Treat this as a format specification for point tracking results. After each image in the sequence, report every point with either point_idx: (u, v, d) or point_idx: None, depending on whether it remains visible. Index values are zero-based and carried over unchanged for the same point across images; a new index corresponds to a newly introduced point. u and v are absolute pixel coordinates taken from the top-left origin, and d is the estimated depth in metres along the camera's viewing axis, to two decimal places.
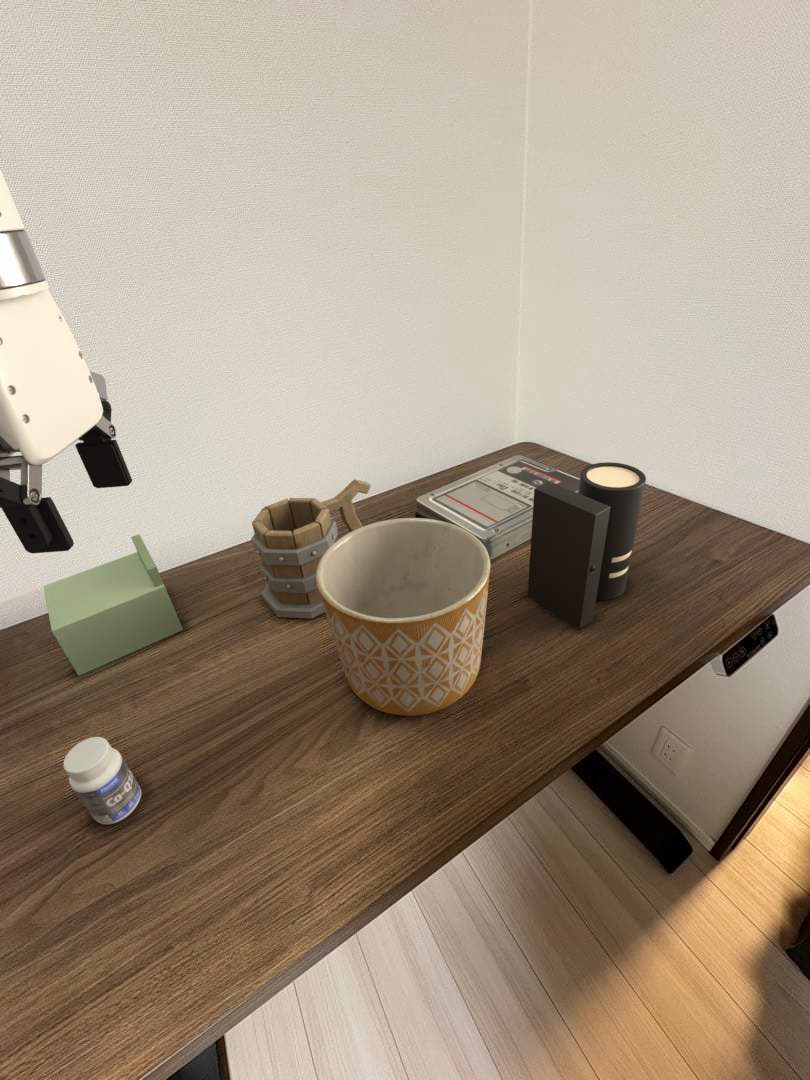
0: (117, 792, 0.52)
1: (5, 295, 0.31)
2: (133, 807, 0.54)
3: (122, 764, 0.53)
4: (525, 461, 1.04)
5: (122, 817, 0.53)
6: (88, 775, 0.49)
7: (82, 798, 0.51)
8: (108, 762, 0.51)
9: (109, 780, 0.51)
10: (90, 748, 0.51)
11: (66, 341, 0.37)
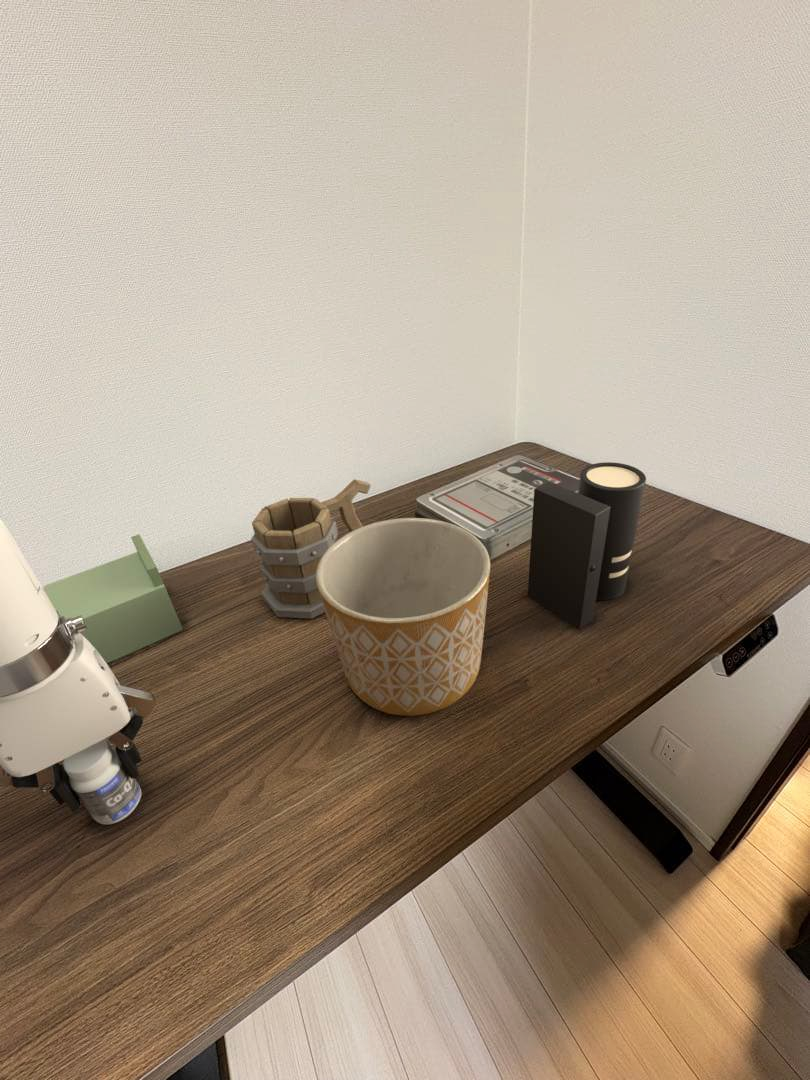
0: (117, 792, 0.52)
1: None
2: (133, 807, 0.54)
3: None
4: (525, 461, 1.04)
5: (122, 817, 0.53)
6: (88, 776, 0.49)
7: (82, 798, 0.51)
8: (108, 762, 0.51)
9: (109, 781, 0.51)
10: (90, 748, 0.51)
11: (84, 694, 0.45)
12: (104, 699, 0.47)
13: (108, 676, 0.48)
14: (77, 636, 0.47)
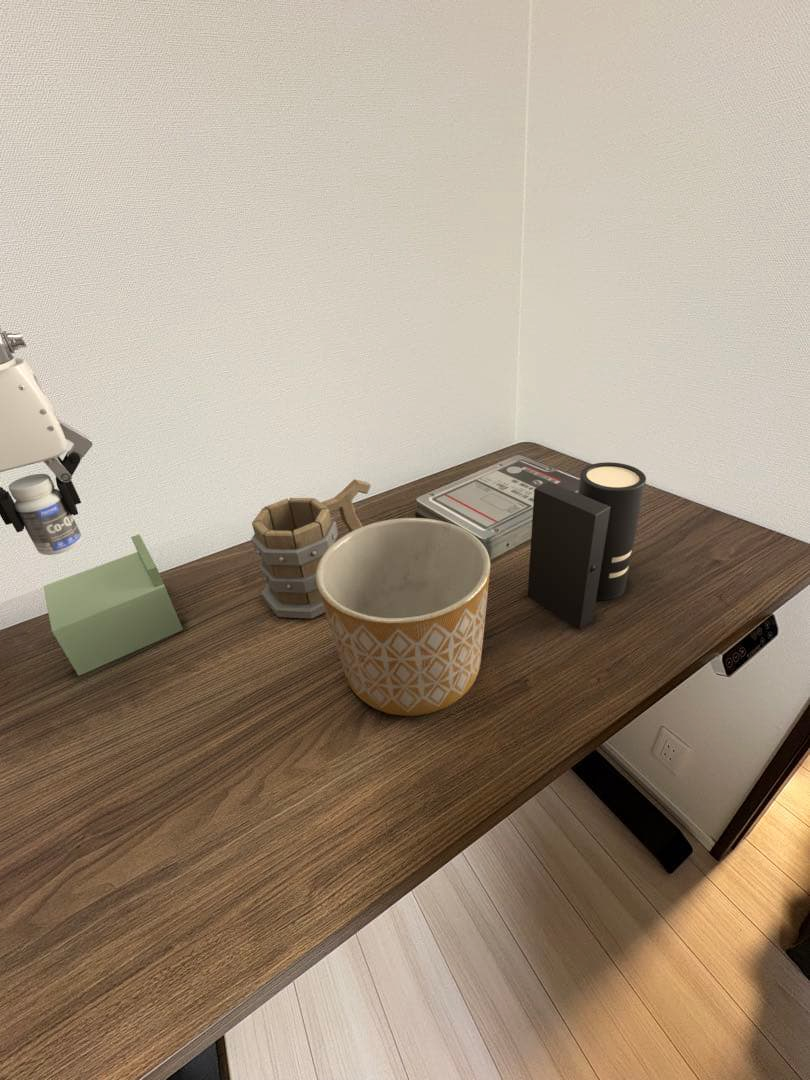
0: (57, 521, 0.59)
1: None
2: (73, 544, 0.61)
3: (63, 499, 0.60)
4: (525, 461, 1.04)
5: (62, 549, 0.61)
6: (29, 495, 0.57)
7: (25, 520, 0.58)
8: (48, 490, 0.58)
9: (49, 506, 0.58)
10: (33, 478, 0.58)
11: (22, 403, 0.53)
12: (41, 416, 0.54)
13: (46, 399, 0.55)
14: (19, 359, 0.54)
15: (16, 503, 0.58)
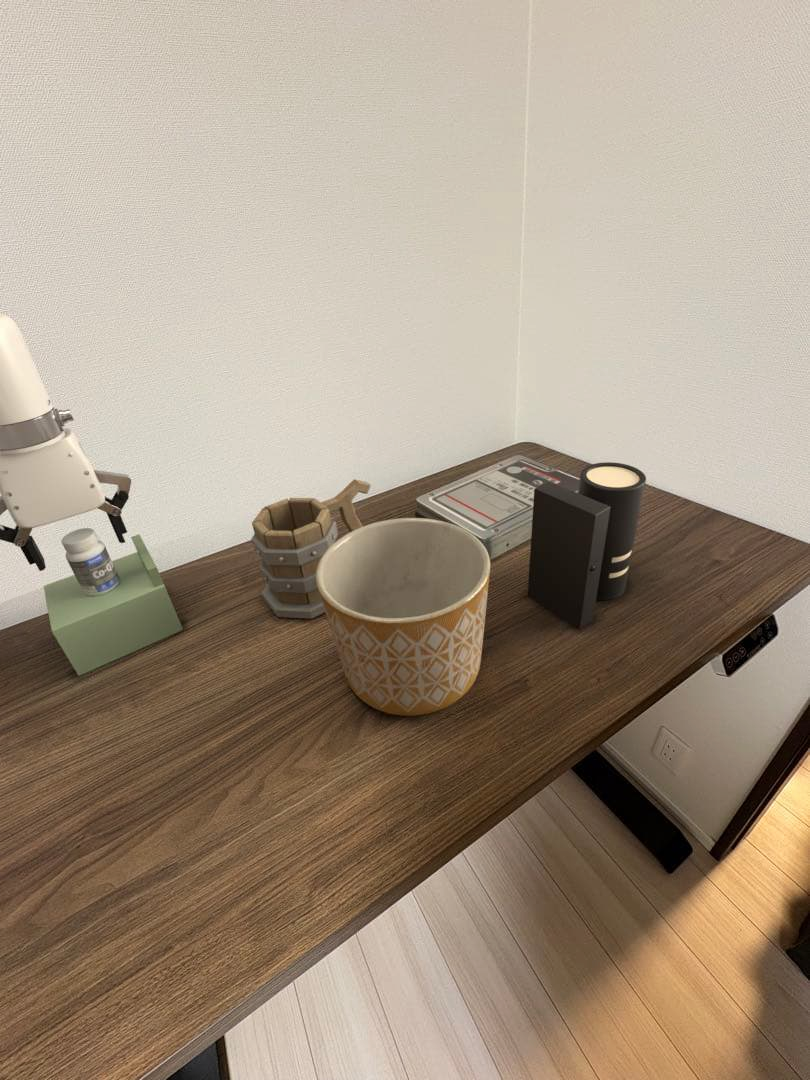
0: (101, 568, 0.71)
1: (8, 453, 0.59)
2: (113, 585, 0.73)
3: (105, 549, 0.71)
4: (525, 461, 1.04)
5: (105, 590, 0.72)
6: (79, 548, 0.68)
7: (75, 568, 0.69)
8: (94, 542, 0.70)
9: (95, 556, 0.69)
10: (81, 533, 0.70)
11: (70, 467, 0.63)
12: (85, 476, 0.65)
13: (88, 462, 0.66)
14: (66, 429, 0.65)
15: (67, 554, 0.69)
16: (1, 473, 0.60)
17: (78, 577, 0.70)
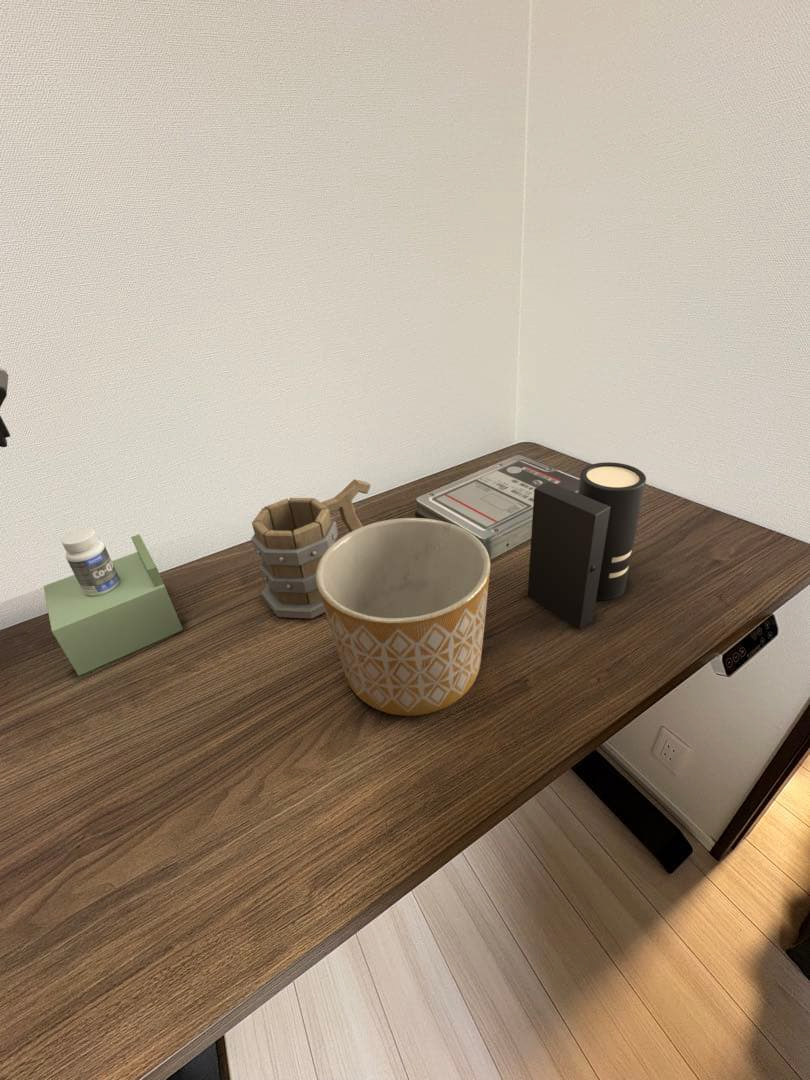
0: (101, 568, 0.71)
1: None
2: (113, 585, 0.73)
3: (105, 549, 0.71)
4: (525, 461, 1.04)
5: (105, 590, 0.72)
6: (79, 548, 0.68)
7: (75, 568, 0.69)
8: (94, 542, 0.70)
9: (95, 556, 0.69)
10: (81, 533, 0.70)
11: None
12: None
13: None
14: None
15: (67, 554, 0.69)
16: None
17: (78, 577, 0.70)
